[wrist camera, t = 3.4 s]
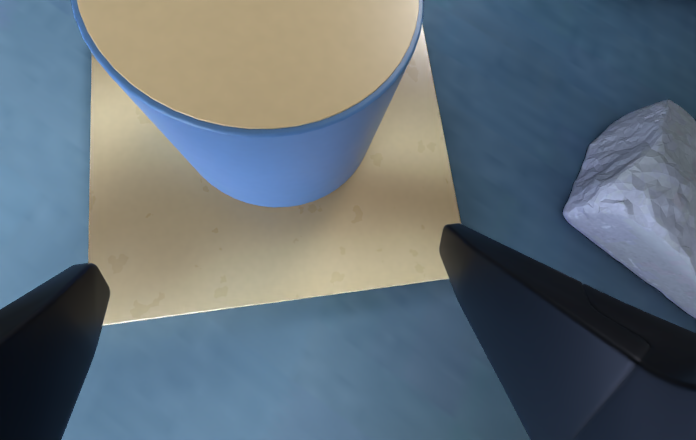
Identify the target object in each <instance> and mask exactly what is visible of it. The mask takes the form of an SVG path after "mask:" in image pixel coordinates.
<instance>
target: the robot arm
mask: <svg viewBox="0 0 696 440" xmlns="http://www.w3.org/2000/svg"><path fill="white" fill-rule="evenodd" d="M439 253H440V257H441V259H442V262H443V264H444V267H445V269H446V272H447V275H448V277H449V280H450V282H451V285H452V288H453V290H454V293H455V295H456V297H457V300H458V302H459V304H460V306H461V308H462V310H463V312H464V314H465V315H466V317H467V319H468V321H469V323H470V325H471V327H472V329H473V331H474V333H475V335H476V336H477V338H478V340H479V342H480V344H481V346H482V348H483V350H484V352H485V354H486V355H487V357H488V359H489V361H490V363H491V365H492V367H493V369H494V371H495V373H496V375H497V376H498V378H499V380H500V382H501V384H502V386H503V388H504V390H505V392H506V394H507V395H508V397H509V399H510V401H511V403H512V405H513V407H514V409H515V411H516V413H517V415H518V416H519V418H520V420H521V422H522V424H523V426H524V428H525V430H526V432H527V434H528V436H529V437H530V439H531V440H696V333H694V332H691V331H689V330H687V329H684V328H682V327H679V326H677V325H675V324H672V323H670V322H668V321H665V320H663V319H661V318H658V317H656V316H654V315H651V314H649V313H647V312H644V311H642V310H640V309H637V308H635V307H633V306H631V305H628V304H626V303H624V302H622V301H619V300H617V299H615V298H613V297H611V296H609V295H607V294H605V293H602V292H600V291H598V290H596V289H594V288H592V287H590V286H588V285H586V284H583V285H582V283H581V282H580V281H578V280H575V279H573V278H571V277H569V276H567V275H565V274H563V273H561V272H559V271H557V270H555V269H553V268H551V267H549V266H547V265H544V264H542V263H540V262H538V261H536V260H534V259H532V258H530V257H528V256H526V255H524V254H522V253H520V252H518V251H516V250H514V249H511V248H509V247H507V246H505V245H503V244H501V243H499V242H497V241H495V240H493V239H491V238H489V237H487V236H485V235H483V234H480V233H478V232H476V231H474V230H472V229H470V228H468V227H466V226H464V225H462V224H460V223H454V224H446V225H445V226H444V228H443V231H442V236H441V241H440V246H439ZM109 298H110V288H109V286H108V284H107V282H106V280H105V279H104V277H103V275H102V273H101V271H100V270H99V268H98V267H97V265H95V264H93V263H87V264H78V265H73V266H71V267H69V268H68V269H66V270H64V271H63V272H61V273H60V274H58V275H56V276H55V277H53V278H51V279H50V280H48V281H46V282H45V283H43V284H42V285H40V286H38V287H37V288H35V289H33V290H32V291H30V292H28V293H27V294H25V295H24V296H22V297H20V298H19V299H17V300H15V301H14V302H12V303H10V304H9V305H7V306H6V307H4V308H2V309H1V310H0V440H61V439H62V436H63V434H64V431H65V429H66V426H67V424H68V421H69V418H70V416H71V413H72V411H73V408H74V406H75V403H76V401H77V398H78V395H79V393H80V390H81V388H82V385H83V383H84V380H85V378H86V375H87V373H88V370H89V367H90V365H91V362H92V359H93V357H94V354H95V351H96V347H97V344H98V340H99V336H100V333H101V329H102V325H103V321H104V317H105V314H106V310H107V306H108V302H109Z"/></svg>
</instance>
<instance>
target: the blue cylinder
mask: <svg viewBox="0 0 696 440" xmlns="http://www.w3.org/2000/svg"><path fill="white" fill-rule="evenodd" d="M70 1H71V5H72V9H73V14H74V18H75V20H76V23H77V25H78V27H79V30H80V32H81V35H82V37H83V39H84V41H85V42H86V44H87V46H88V47H89V49H90V51H91V52H92V54H93V55H94V57H95V58H96V60H97V61H98V62H99V63H100V64H101V66H102V67H103V68H104V69H105V71H106V72H107V73H108V74H109V75H110V76H111V78H112V79H113V80H114V81H115V82H116V83H117V84H118V85H119V86H120V87H121V88H122V90H123V91H124V92H125V93H126V94H127V95H128V96H129V97H130V98H131V99H132V100H133V102H134V103H135V104H136V105H137V106H138V107H139V108H140V109H141V110H142V111H143V112H144V114H145V115H146V116H147V117H148V118H149V119H150V120H151V121H152V122H153V123H154V124H155V126H156V127H157V128H158V129H159V130H160V131H161V132H162V133H163V134H164V135H165V136H166V138H167V139H168V140H169V141H170V142H171V143H172V144H173V145H174V146H175V147H176V148H177V150H178V151H179V152H180V153H181V154H182V155H183V156H184V157H185V158H186V159H187V160H188V162H189V163H190V164H191V165H192V166H193V167H194V168H195V169H196V170H197V171H198V172H199V174H200V175H201V176H202V177H203V178H205V179H206V180H207V181H208V182H209V183H210V184H211V185H213V186H214V187H215V188H217V189H218V190H220V191H221V192H223V193H225V194H227V195H229V196H231V197H232V198H234V199H237V200H240V201H243V202H245V203H249V204H253V205H258V206H265V207H291V206H297V205H302V204H306V203H309V202H313V201H315V200H318V199H320V198H322V197H324V196H326V195H328V194H330V193H331V192H333V191H335V190H336V189H337V188H339V187H340V186H341V185H342V184H344V183H345V182H346V181H347V180H348V179H349V178H350V177H351V176H352V175H353V174H354V172H355V171H356V169H357V168H358V167H359V165H360V164H361V162H362V160H363V158H364V156H365V154H366V152H367V150H368V148H369V146H370V144H371V142H372V140H373V137H374V135H375V133H376V131H377V129H378V127H379V125H380V123H381V121H382V118H383V116H384V114H385V112H386V110H387V108H388V106H389V104H390V102H391V100H392V97H393V95H394V93H395V91H396V89H397V87H398V85H399V83H400V81H401V79H402V76H403V74H404V72H405V70H406V68H407V66H408V64H409V62H410V60H411V57H412V55H413V53H414V51H415V48H416V45H417V42H418V39H419V37H420V33H421V28H422V22H423V16H424V0H70Z"/></svg>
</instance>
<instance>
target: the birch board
mask: <svg viewBox="0 0 696 440" xmlns="http://www.w3.org/2000/svg"><path fill="white" fill-rule="evenodd" d="M454 223H460V224H461V220H460V215H459V210H458V205H457V200H456V194H455V189H454V184H453V179H452V174H451V169H450V163H449V158H448V153H447V148H446V143H445V138H444V133H443V127H442V122H441V117H440V112H439V107H438V102H437V96H436V91H435V86H434V81H433V76H432V71H431V66H430V60H429V55H428V50H427V45H426V40H425V35H424V29H423V24H422V28H421V33H420V37H419V39H418V42H417V45H416V48H415V51H414V53H413V55H412V57H411V60H410V62H409V64H408V66H407V68H406V70H405V72H404V74H403V76H402V79H401V81H400V83H399V85H398V87H397V89H396V91H395V93H394V95H393V97H392V100H391V102H390V104H389V106H388V108H387V110H386V112H385V114H384V116H383V118H382V121H381V123H380V125H379V127H378V129H377V131H376V133H375V135H374V137H373V140H372V142H371V144H370V146H369V148H368V150H367V152H366V154H365V156H364V158H363V160H362V162H361V164H360V165H359V167H358V168H357V169H356V171H355V172H354V174H353V175H352V176H351V177H350V178H349V179H348V180H347V181H346V182H345V183H344V184H342V185H341V186H340V187H339V188H337V189H336V190H335V191H333V192H331V193H330V194H328V195H326V196H324V197H322V198H320V199H318V200H315V201H313V202H309V203H306V204H302V205H297V206H291V207H265V206H258V205H253V204H249V203H245V202H243V201H240V200H237V199H234V198H232V197H231V196H229V195H227V194H225V193H223V192H221V191H220V190H218V189H217V188H215V187H214V186H213V185H211V184H210V183H209V182H208V181H207V180H206V179H205V178H203V177H202V176H201V175H200V174H199V172H198V171H197V170H196V169H195V168H194V167H193V166H192V165H191V164H190V163H189V162H188V160H187V159H186V158H185V157H184V156H183V155H182V154H181V153H180V152H179V151H178V150H177V148H176V147H175V146H174V145H173V144H172V143H171V142H170V141H169V140H168V139H167V138H166V136H165V135H164V134H163V133H162V132H161V131H160V130H159V129H158V128H157V127H156V126H155V124H154V123H153V122H152V121H151V120H150V119H149V118H148V117H147V116H146V115H145V114H144V112H143V111H142V110H141V109H140V108H139V107H138V106H137V105H136V104H135V103H134V102H133V100H132V99H131V98H130V97H129V96H128V95H127V94H126V93H125V92H124V91H123V90H122V88H121V87H120V86H119V85H118V84H117V83H116V82H115V81H114V80H113V79H112V78H111V76H110V75H109V74H108V73H107V72H106V71H105V69H104V68H103V67H102V66H101V64H100V63H99V62H98V61H97V60H96V58H95V57H94V55H93V54H92V74H91V132H90V189H89V247H88V263H93V264H95V265H97V267H98V268H99V270H100V271H101V273H102V275H103V277H104V279H105V280H106V282H107V284H108V286H109V288H110V298H109V302H108V306H107V310H106V314H105V317H104V321H103V325H102V326H104V325H112V324H119V323H127V322H134V321H141V320H149V319H156V318H164V317H171V316H178V315H186V314H193V313H200V312H208V311H215V310H223V309H230V308H237V307H245V306H252V305H259V304H267V303H274V302H282V301H289V300H296V299H304V298H311V297H318V296H326V295H333V294H341V293H348V292H355V291H363V290H370V289H378V288H385V287H392V286H400V285H407V284H414V283H422V282H429V281H437V280H444V279H449V277H448V275H447V272H446V269H445V267H444V264H443V262H442V259H441V257H440V253H439V246H440V241H441V236H442V231H443V228H444V226H445V225H446V224H454Z"/></svg>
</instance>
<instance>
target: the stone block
mask: <svg viewBox="0 0 696 440" xmlns="http://www.w3.org/2000/svg"><path fill="white" fill-rule="evenodd" d="M563 215H564V217H565V219H566V220H567V222H568V223H570V224H571V225H572V226H573V227H574V228H576V229H577V230H578V231H580V232H581V233H582V234H584V235H585V236H586V237H587V238H589V239H590V240H591V241H593V242H594V243H595V244H596V245H598V246H599V247H600V248H602V249H603V250H604V251H606V252H607V253H608V254H609V255H611V256H612V257H613V258H615V259H616V260H617V261H619V262H621V263H622V264H623V265H625V266H626V267H627V268H628V269H629V270H631V271H632V272H633V273H635V274H636V275H637V276H639V277H640V278H641V279H643V280H644V281H645V282H647V283H649V284H650V285H652V286H653V287H655V288H657V289H658V290H659V291H661V292H662V293H663V294H664V295H665V296H666V297H667V298H668V299H669V300H671V301H672V302H673V303H675V304H676V305H677V306H678V307H680V308H681V309H683V310H684V311H685V312H686V313H688V314H689V315H691V316H693V317H694V318H695V319H696V122H695V120H694V119H693V117H692V116H690V115H689V114H688V113H687V112H686V111H685V110H684V109H683V108H681V107H680V106H679V105H677V104H675V103H674V102H673V101H670V100H669V99H668V100H665V101H661V102H658V103H655V104H653V105H649V106H646V107H643V108H641V109H639V110H636V111H633V112H630V113H629V114H627V115H625V116H623V117H622V118H620V119H619V120H617V121H615V122H613V123H612V124H611V125H610V126H609V127H608V128H607V129H606V130H605V131H604V132H603V133H602V134H601V135H600V136H599V137H598V138H596V139H595V140H594V141H593V142H592V143H591V144H590V145H589V147H588V150H587V153H586V158H585V160H584V162H583V165H582V169H581V171H580V173H579V176H578V178H577V180H576V181H575V182H574V184H573V189H572V192H571V194H570V198H569V200H568V202H567V203H566V205H565V207H564V210H563Z"/></svg>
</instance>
